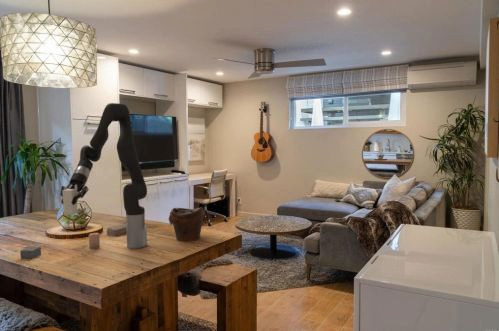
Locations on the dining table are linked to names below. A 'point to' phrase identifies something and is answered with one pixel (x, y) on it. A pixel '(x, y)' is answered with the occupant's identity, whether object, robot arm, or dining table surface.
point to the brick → (117, 230)
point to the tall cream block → (69, 202)
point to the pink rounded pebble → (94, 240)
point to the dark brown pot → (187, 223)
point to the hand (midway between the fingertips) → (68, 203)
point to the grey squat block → (30, 252)
